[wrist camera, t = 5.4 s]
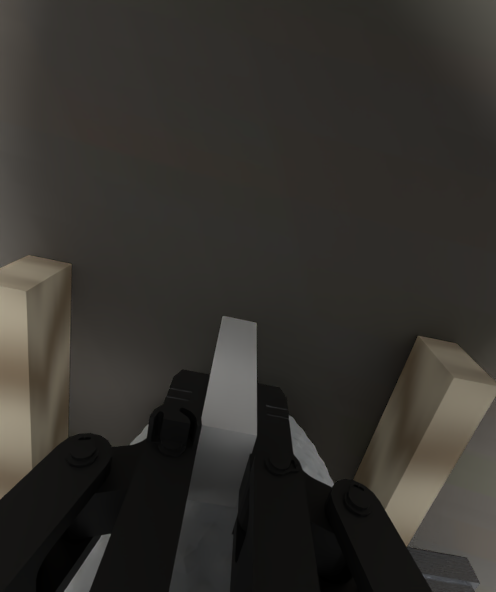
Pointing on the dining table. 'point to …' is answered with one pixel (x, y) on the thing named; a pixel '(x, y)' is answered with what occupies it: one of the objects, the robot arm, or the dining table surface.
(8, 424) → the bay
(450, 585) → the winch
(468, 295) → the dining table surface
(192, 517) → the mug
